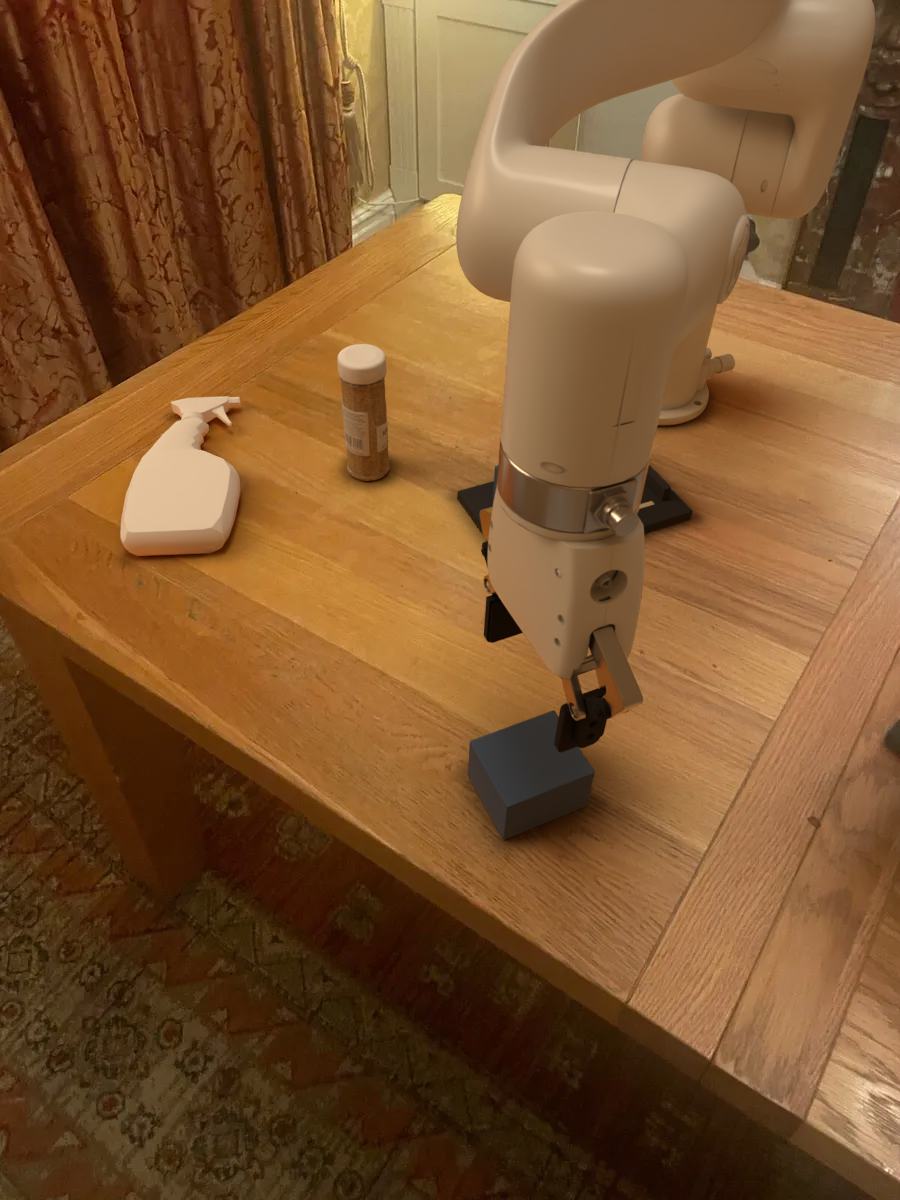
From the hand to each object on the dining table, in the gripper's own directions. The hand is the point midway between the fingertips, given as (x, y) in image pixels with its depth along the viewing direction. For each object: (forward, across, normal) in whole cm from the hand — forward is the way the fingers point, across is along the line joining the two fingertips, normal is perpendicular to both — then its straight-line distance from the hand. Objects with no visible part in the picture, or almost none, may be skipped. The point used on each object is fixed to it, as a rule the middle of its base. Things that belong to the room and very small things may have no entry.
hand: (540, 685), depth 59 cm
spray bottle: (+12, +47, +14) cm, 51 cm away
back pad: (+13, 0, 0) cm, 13 cm away
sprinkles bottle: (+12, +41, -3) cm, 43 cm away
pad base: (+12, +27, -20) cm, 36 cm away
